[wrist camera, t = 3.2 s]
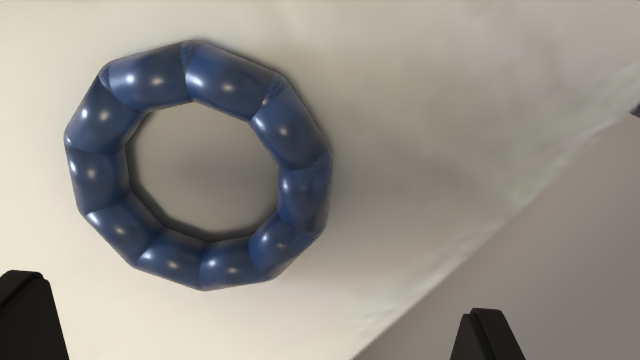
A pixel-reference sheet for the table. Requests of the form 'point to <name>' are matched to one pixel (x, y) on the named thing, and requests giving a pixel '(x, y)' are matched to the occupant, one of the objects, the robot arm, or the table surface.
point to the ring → (222, 95)
